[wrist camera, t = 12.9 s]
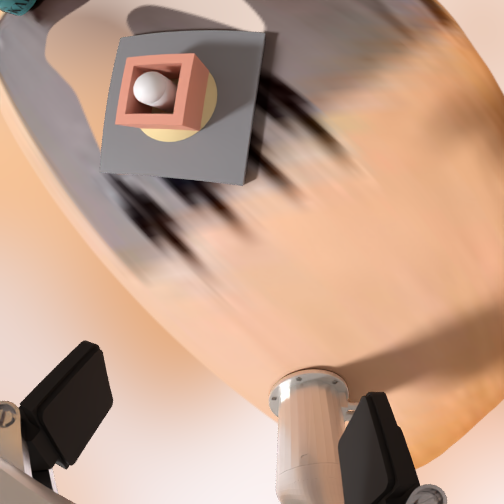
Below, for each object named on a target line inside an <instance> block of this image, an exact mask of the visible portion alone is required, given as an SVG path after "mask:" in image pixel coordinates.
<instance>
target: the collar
mask: <svg viewBox="0 0 504 504" xmlns="http://www.w3.org/2000/svg"><path fill="white" fill-rule="evenodd" d="M151 71H154V72H158V73H160V74H162V75H163V76H165V77H167V78H168V79H179V82H178V88H177V93H176V99H175V106H174V112H173V114H152V107H153V106H150V105H147V104H144V103H142V102H140V101H139V100H137V98H136V97H135V95H134V92H133V87H134V83H135V81H136V80H137V78H138V77H139V76H141V75H142V74H144V73H146V72H151ZM208 76H209V70H208V69H207V68H206V66H205V65H204V64H203V63H202V62H201V60H200V59H199V58H198V57H197V56H196V55H195V53H186V54H161V55H147V56H137V57H128V58H127V59H126V64H125V68H124V73H123V78H122V83H121V89H120V94H119V100H118V107H117V113H116V121H115V124H116V125H123V126H129V127H135V128H141V129H174V130H191V131H200V127H201V120H202V113H203V106H204V100H205V94H206V88H207V82H208Z"/></svg>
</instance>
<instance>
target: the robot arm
mask: <svg viewBox="0 0 504 504" xmlns="http://www.w3.org/2000/svg"><path fill="white" fill-rule="evenodd" d="M348 397H349V391H348V387H347V385H346V382H345V381H344V380H343V379H342V378H341V377H340V376H339V375H337V374H335V373H333V372H330V371H326V370H319V369H310V370H302V371H298V372H295V373H292V374H289V375H287V376H285V377H284V378H282V379H281V380H279V381H278V382H277V383H276V384H275V385H274V386H273V388H272V389H271V391H270V394H269V406H270V409H271V411H272V412H273V413H274V414H275V415H276V416H277V417H278V445H277V471H276V494H277V497H278V499H279V501H280V502H281V504H447V497H446V495H445V493H444V491H443V490H442V489H441V488H439V487H437V486H435V485H431V484H428V485H427V484H426V485H422V486H420V483H419V480H418V477H417V474H416V471H415V468H414V464H413V461H412V458H411V455H410V452H409V450H408V447H407V444H406V441H405V438H404V435H403V432H402V430H401V428H400V427H399V426H397V423H396V420H395V418H394V415H393V412H392V409H391V407H390V404H389V402H388V399H387V396H386V394H385V393H384V392H368V393H367V395H366V396H363V397H362V398H361V400H360V402H349V401H348ZM112 404H113V397H112V394H111V389H110V386H109V381H108V376H107V372H106V367H105V362H104V356H103V352H102V350H100V348H99V346H98V345H97V344H94V343H91V342H88V341H83V342H81V343H80V344H79V345H78V346H77V347H76V348H75V349H74V350H73V351H72V352H71V353H70V354H69V355H68V356H67V357H66V358H64V360H62V361H61V362H60V363H59V365H57V366H56V368H54V369H53V370H52V371H51V372H50V373H49V374H48V375H47V376H46V377H45V378H44V379H43V380H42V381H41V382H40V383H39V384H38V386H36V387H35V388H34V389H33V391H32V392H31V393H30V394H29V395H28V396H27V397H26V398H25V399H24V400H23V401H22V402H21V403H20V405H21V406H20V407H19V408H18V407H17V406H16V405H15V404H13V403H12V402H9V401H0V504H75V503H73V502H72V501H70V500H68V499H66V498H64V497H63V496H61V495H59V494H58V490H57V487H56V482H55V478H54V474H53V469H52V467H53V466H54V464H55V463H56V464H57V465H59V466H61V467H63V468H65V469H67V468H68V467H69V465H73V464H74V463H75V462H76V460H77V458H78V457H79V456H80V454H81V453H82V451H83V450H84V448H85V446H86V445H87V443H88V442H89V440H90V439H91V437H92V436H93V434H94V433H95V431H96V430H97V428H98V426H99V425H100V423H101V422H102V420H103V419H104V417H105V416H106V414H107V413H108V411H109V410H110V408H111V407H112ZM348 410H353V411H348ZM345 421H349V423H348V425H347V427H346V428H345Z"/></svg>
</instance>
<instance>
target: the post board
mask: <svg viewBox="0 0 504 504" xmlns="http://www.w3.org/2000/svg"><path fill="white" fill-rule="evenodd" d="M265 39H266V37H265V33H261V32H248V31H226V30H197V31H175V32H162V33H152V34H143V35H136V36H129V37H123V38H120V42H119V46H118V50H117V54H116V59H115V63H114V68H113V72H112V78H111V83H110V88H109V94H108V100H107V106H106V113H105V121H104V128H103V138H102V147H101V159H100V173H117V174H133V175H146V176H158V177H170V178H180V179H190V180H199V181H208V182H216V183H224V184H232V185H240V186H243V185H244V183H245V176H246V168H247V161H248V154H249V146H250V139H251V132H252V125H253V118H254V111H255V104H256V98H257V91H258V84H259V78H260V71H261V64H262V58H263V51H264V45H265ZM186 53H195V55H196V56H197V57H198V58H199V59H200V60H201V62H202V63H203V64H204V65H205V66H206V68H207V69H208V70H209V76H208V82H207V88H206V94H205V100H204V106H203V113H202V120H201V127H200V131H191V130H174V129H141V128H135V127H129V126H123V125H116V124H115V121H116V113H117V107H118V100H119V94H120V89H121V83H122V78H123V73H124V68H125V64H126V59H127V58H128V57H137V56H147V55H161V54H186ZM178 82H179V79H168V78H167V77H165V76H163V75H162V74H160V73H158V72H154V71H151V72H146V73H144V74H142V75H141V76H139V77H138V78H137V80H136V81H135V83H134V87H133V92H134V95H135V97H136V98H137V100H139V101H140V102H142V103H144V104H147V105H150V106H153V107H152V114H173V112H174V106H175V99H176V93H177V88H178Z"/></svg>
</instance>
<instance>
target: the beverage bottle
mask: <svg viewBox="0 0 504 504" xmlns="http://www.w3.org/2000/svg"><path fill="white" fill-rule="evenodd" d="M35 2H36V0H0V10H1V11H4V12H5V11H6V13H10V14H13V15H18V16H19V15H23V14H25V13H26V12H27V11H28V10H29V9H30V8H31V7H32V6H33V5H34V3H35Z"/></svg>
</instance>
